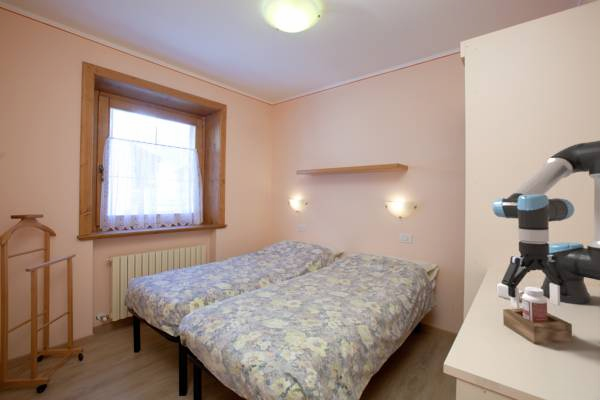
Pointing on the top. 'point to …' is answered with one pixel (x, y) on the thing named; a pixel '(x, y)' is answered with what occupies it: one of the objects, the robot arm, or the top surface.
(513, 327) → the wooden box
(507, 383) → the top surface
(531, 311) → the pill bottle
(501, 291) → the power adapter
